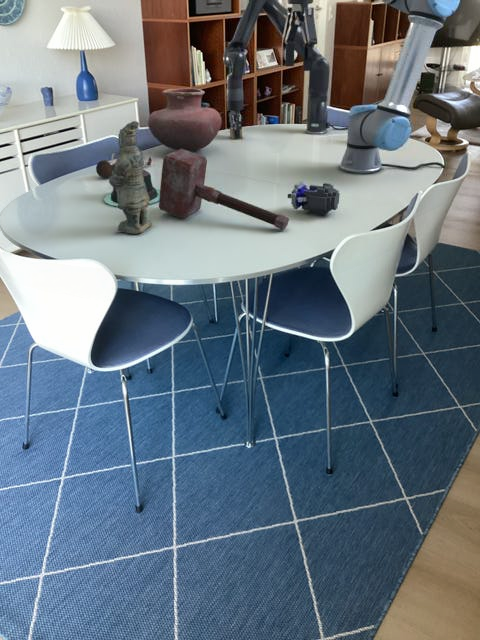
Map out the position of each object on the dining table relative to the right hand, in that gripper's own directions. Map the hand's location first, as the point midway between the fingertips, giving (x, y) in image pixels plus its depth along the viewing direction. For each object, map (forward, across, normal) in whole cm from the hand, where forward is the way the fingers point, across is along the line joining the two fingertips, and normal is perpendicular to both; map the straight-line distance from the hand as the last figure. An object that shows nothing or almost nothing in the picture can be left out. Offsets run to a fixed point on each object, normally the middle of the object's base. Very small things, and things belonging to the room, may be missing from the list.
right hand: (298, 68), depth 171 cm
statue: (+38, +16, -58) cm, 71 cm away
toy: (+38, +23, -4) cm, 45 cm away
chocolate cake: (+38, -13, -53) cm, 67 cm away
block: (+38, -85, +7) cm, 93 cm away
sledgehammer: (+38, +20, -31) cm, 53 cm away
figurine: (+38, -46, -52) cm, 79 cm away
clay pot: (+38, -68, -21) cm, 81 cm away
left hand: (+38, -85, +7) cm, 93 cm away
